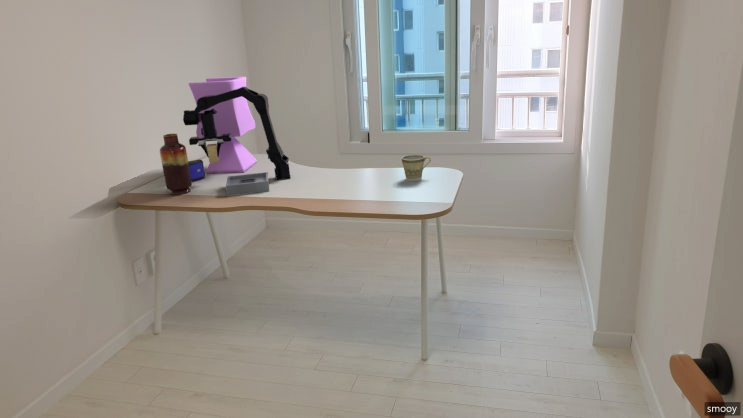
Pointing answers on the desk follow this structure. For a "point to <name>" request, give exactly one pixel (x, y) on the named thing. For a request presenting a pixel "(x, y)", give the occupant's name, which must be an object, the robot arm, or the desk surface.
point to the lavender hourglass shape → (228, 123)
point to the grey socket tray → (247, 183)
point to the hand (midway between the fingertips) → (213, 157)
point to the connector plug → (212, 153)
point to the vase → (175, 165)
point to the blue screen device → (196, 170)
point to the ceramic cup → (414, 166)
